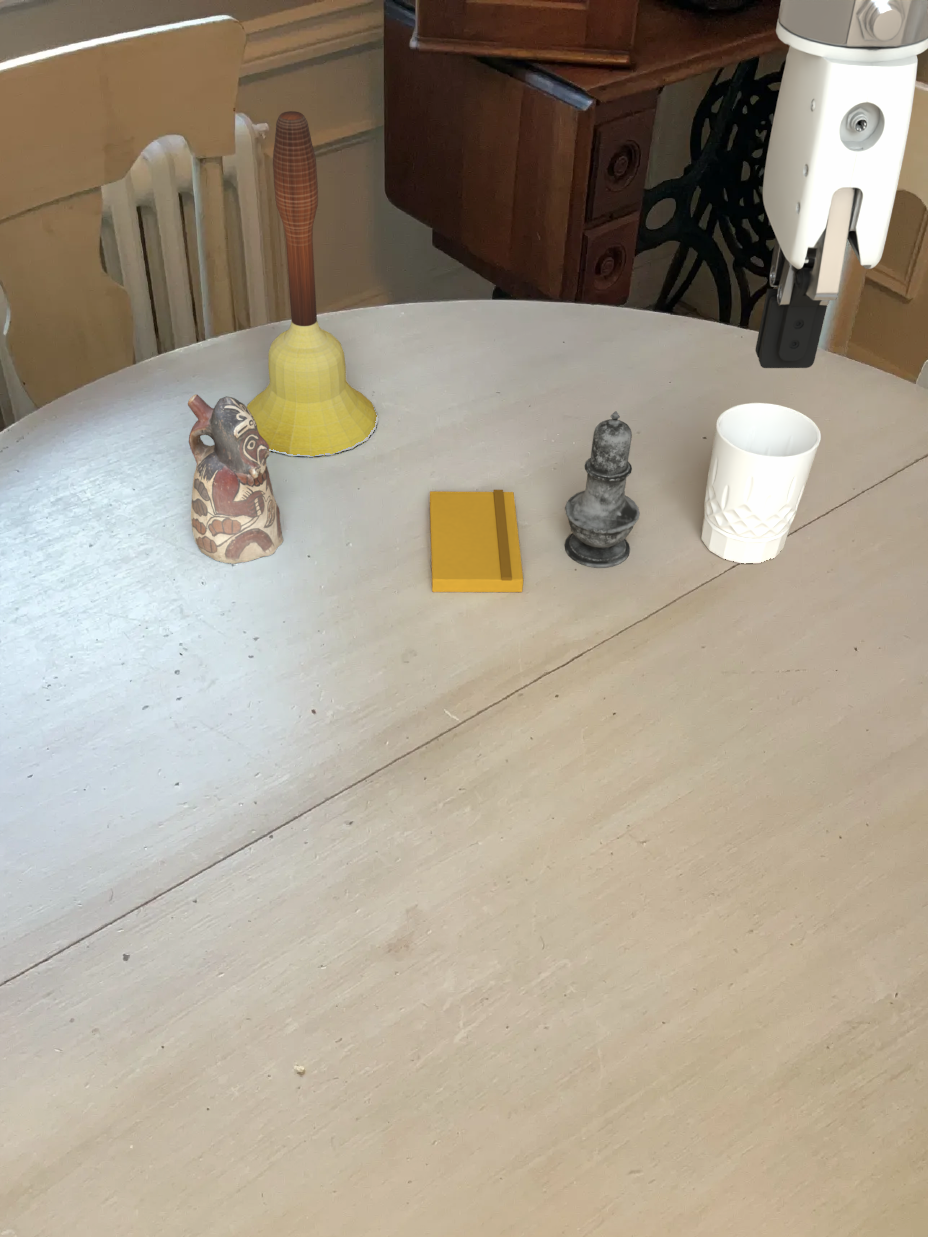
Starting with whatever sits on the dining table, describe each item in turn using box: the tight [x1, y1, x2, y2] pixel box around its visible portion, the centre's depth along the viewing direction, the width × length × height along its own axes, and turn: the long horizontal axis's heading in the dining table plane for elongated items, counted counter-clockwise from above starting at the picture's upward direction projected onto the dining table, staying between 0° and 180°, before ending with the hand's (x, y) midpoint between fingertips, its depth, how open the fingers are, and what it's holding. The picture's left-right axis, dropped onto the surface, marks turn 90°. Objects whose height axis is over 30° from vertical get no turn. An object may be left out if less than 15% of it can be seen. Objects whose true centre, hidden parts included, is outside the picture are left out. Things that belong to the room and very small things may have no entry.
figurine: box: [187, 394, 284, 565], centre depth 97 cm, size 7×7×12 cm
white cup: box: [700, 402, 822, 564], centre depth 99 cm, size 8×8×10 cm
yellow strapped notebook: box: [429, 489, 524, 593], centre depth 101 cm, size 12×7×1 cm, turn 2°
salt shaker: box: [564, 410, 641, 569], centre depth 97 cm, size 6×6×12 cm
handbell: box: [246, 110, 378, 456], centre depth 104 cm, size 12×12×25 cm
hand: (783, 360), depth 75 cm, fingers closed
